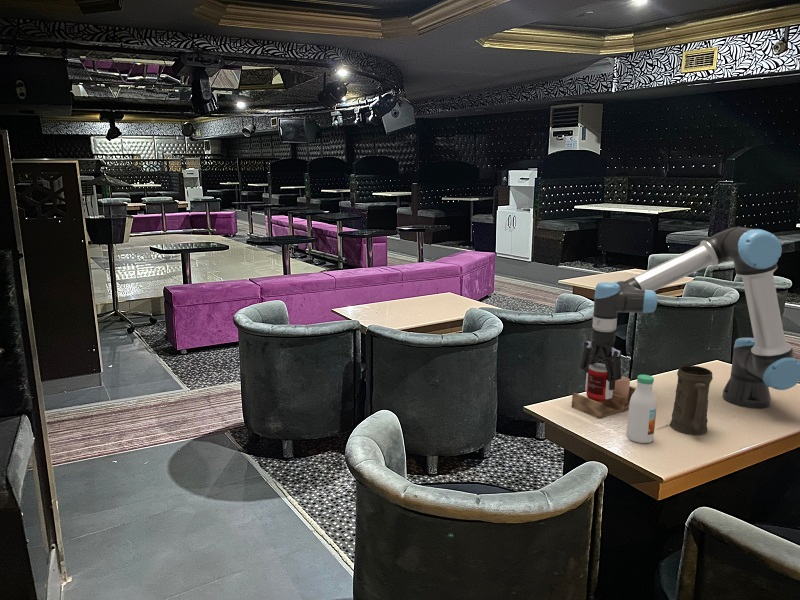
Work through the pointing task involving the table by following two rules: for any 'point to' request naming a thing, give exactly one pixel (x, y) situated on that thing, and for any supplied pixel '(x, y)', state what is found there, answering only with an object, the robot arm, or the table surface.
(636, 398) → the milk bottle
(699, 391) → the beer stein
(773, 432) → the table surface
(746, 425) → the table surface
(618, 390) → the peach rounded block
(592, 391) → the canned food
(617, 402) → the rack
